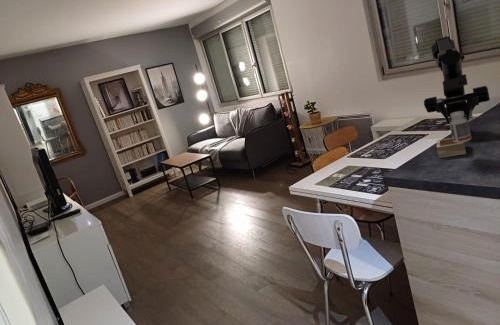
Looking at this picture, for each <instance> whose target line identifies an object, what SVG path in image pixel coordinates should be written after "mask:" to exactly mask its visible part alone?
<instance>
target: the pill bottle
mask: <svg viewBox="0 0 500 325" xmlns="http://www.w3.org/2000/svg"><path fill="white" fill-rule="evenodd" d="M464 115H465V114H464V111H457V112H453V113H451V114H450V116H451V119H452V120H450V122H449V128H450V132H451V138H453V142H455V143H462V142H464V143H466V142H469V141H470V140H472V134H471V133H472V132H471V133H470V130H471V127H470V124H469V120H467V118H466V117H464Z"/></svg>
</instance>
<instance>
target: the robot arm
mask: <svg viewBox="0 0 500 325" xmlns="http://www.w3.org/2000/svg"><path fill="white" fill-rule="evenodd" d="M455 44H456V43H455V41H454V40H453V39H451V38H450V36H447V35H446V36H443V37H440V38H436V40H434V43H433V44H432V46H431V47H430V51H431V54H432V55H431V56H432V58H433V60H435V64H436V65H437V69H440V71H441V72H442V75H443V76H442V77H443V81H442V89H443V96H444V97H445V98H441V97H440V98H437V96H432V97H428V98H425V99H424V100H423V105H424V109H425V110H426V112H427V113H434V112H436V113H437V114H438V113H441V115H442V116H443V117H444V119H445V121H446V123H447V124H448V125H450V123H449V122H450V120H452V119H451V116H450V114H451V113H453V112H457V111H464V114H465V115H464V117H466V118H467V120H468V121H469V120H471V119H470V118H472V117H473V112H474V109H475V108H476V106H479V105H480V103H485V102H489V101H490V100H491V98H490V92H489V88H488V86H486V85H482V86H481V85H480V86H478V87H477V86H476V87H473V88H472V92H470V93H465V92H466V91H465V86H467V85H468V79H467V78H468V77H467V74H465V73H464V74H463V69H462V68H463V64H462V63H463V62H464V60H465V55H464V54H462V52H461V51H459V50H458V49H457V48H456V45H455ZM470 133H472V131H471V129H470Z"/></svg>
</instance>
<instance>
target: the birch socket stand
mask: <svg viewBox="0 0 500 325" xmlns="http://www.w3.org/2000/svg"><path fill="white" fill-rule="evenodd" d="M436 150H437V155H438V158H439V159H441V158H447V157H454V156H459V155H460V156H461V155H466V154H467V151H466V146H465V142H462V143H455V142H453V138H452V137H447V138H442V139H437V140H436Z"/></svg>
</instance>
